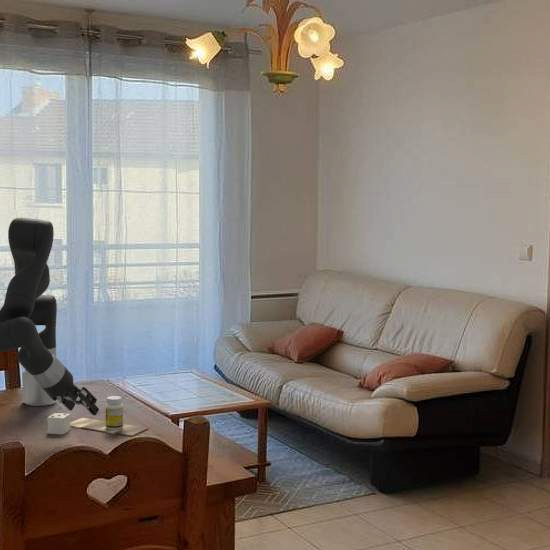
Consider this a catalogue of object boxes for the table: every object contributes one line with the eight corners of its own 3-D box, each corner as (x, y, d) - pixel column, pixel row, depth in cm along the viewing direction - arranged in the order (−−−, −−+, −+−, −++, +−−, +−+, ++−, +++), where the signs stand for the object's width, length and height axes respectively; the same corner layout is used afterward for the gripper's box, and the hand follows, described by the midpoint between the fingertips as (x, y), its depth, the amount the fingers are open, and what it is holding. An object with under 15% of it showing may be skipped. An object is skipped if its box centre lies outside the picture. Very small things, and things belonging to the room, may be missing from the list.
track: (64, 425, 225) (64, 424, 225) (82, 419, 232) (82, 417, 232) (131, 436, 216) (131, 435, 216) (148, 429, 223) (148, 427, 223)
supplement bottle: (106, 425, 225) (106, 395, 224) (123, 425, 225) (124, 395, 225) (104, 430, 220) (104, 399, 220) (122, 429, 221) (122, 399, 220)
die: (47, 433, 218) (47, 417, 217) (54, 429, 222) (54, 412, 222) (63, 434, 217) (63, 418, 217) (70, 430, 221) (70, 413, 221)
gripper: (79, 365, 200) (111, 402, 211) (38, 358, 207) (72, 394, 218) (63, 390, 196) (97, 426, 207) (22, 382, 203) (57, 417, 214)
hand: (84, 410), depth 213 cm, fingers open, 8 cm apart
